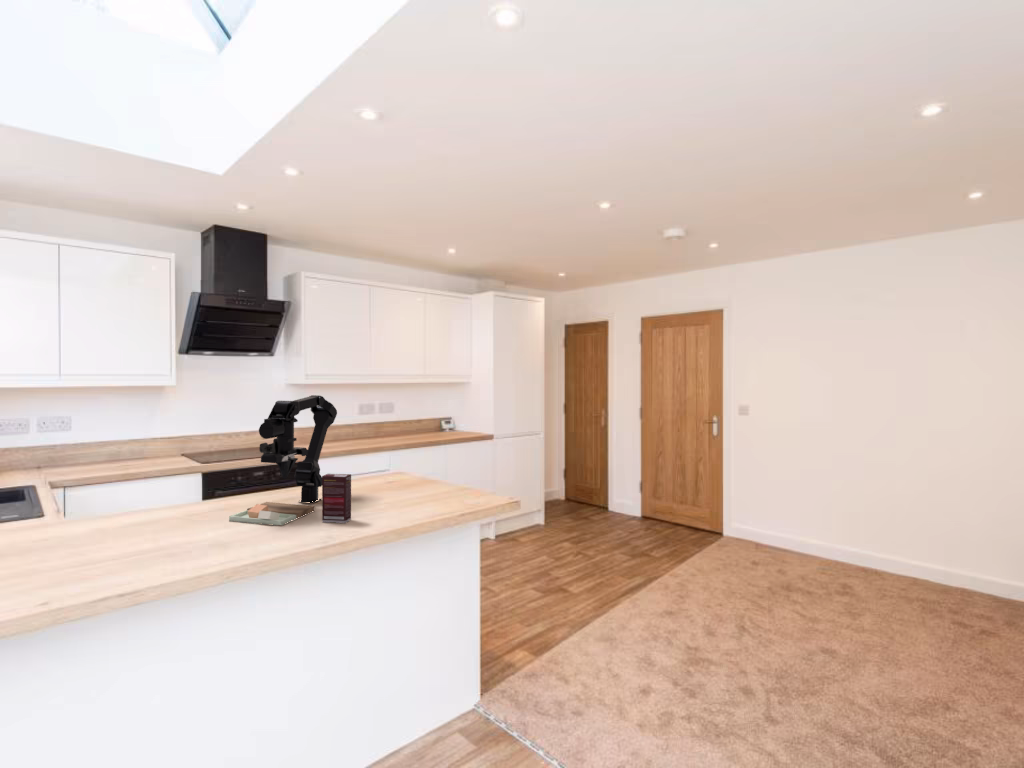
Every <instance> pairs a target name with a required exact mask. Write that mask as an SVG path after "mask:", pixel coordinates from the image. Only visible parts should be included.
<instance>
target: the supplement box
mask: <svg viewBox="0 0 1024 768" xmlns="http://www.w3.org/2000/svg"><path fill="white" fill-rule="evenodd" d="M321 476H322V486H321V491H322V492H321V495H322V497H321V499H322V500H321V501H322V503H321V510H322V511H321V519H322V520H321V521H322V523H330V522H336V523H337V524H347V523H348V522H350V521H351V520H352V474H350V473H347V474H346V473H327V474H324V475H321ZM349 520H350V521H349ZM346 522H347V523H346ZM336 523H335V524H336Z"/></svg>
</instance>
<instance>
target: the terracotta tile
mask: <svg viewBox="0 0 1024 768" xmlns="http://www.w3.org/2000/svg"><path fill="white" fill-rule="evenodd" d="M260 504H261V503H260ZM260 504H259V503H256V504H255V505H254V506H252V508H251V507H250V508H251V509H250V510H248V511H247V512H248V515H249V518H258V515H259V512H260V511H269V509H268V506H267V505H260ZM258 519H259V518H258Z"/></svg>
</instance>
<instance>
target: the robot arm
mask: <svg viewBox="0 0 1024 768" xmlns="http://www.w3.org/2000/svg"><path fill="white" fill-rule="evenodd" d="M308 409H310V412H312V414H313V416H312V419H313V421H314V428H313V432H312V433H311V437H310V440H309V441H310V442H309V445H308V448H306V447H303V446H302V447H300V446H299V447H298V446H297V447H296V446H295V442H296V441H297V437H295V423H297V422H298V419H297V418H296V417H295V416H297V415H299V414H300V412H301V411H304V410H308ZM337 416H338V411H337V409H336V407H335V405H334V404H333V403H331V402H330V401H328V400H327V399H325V397H324V396H322V395H320V394H319V395H314V394H313V395H309V396H306V397H302V398H298V399H295V400H277V401H276V402H275V404H273V407H272V408H271V411H270V412H269V414H268V417H267V418H264V419H263V422H262V423H261V424H260V426H259V428H258V433H259V436H260V437H261V438H262V439H265V440H269V439H273V442H272V443H269V444H268V443H267V442H262V443H260V444H259V452H260V453H262V455H260V463H265V464H267V463H268V464H269V463H270V464H276V465H277V466H278V468H279V471H280V474H281V476H282V479H283V480H284V479H288V477H289V475H290V473H291V471H292V470H293V467H294V466H295V464H296V462H297V461H298V460H299V458H298V457H296V456H297V455H299V456H302V457H305V458H304V459H303V461H298V462H297V464H296V469H295V470H294V472H295V473H294V479H295V483H296V486H297V487H301V492H300V493H301V494H300V496H301V497H300V498H301V499H300V500H301V502H310V503H313V502H315V501H316V500H318V498H319V488H322V476H323V475H321V472H320V471H321V468H320V464H319V460H320V456H321V453H322V449H323V446H324V443H325V439H326V435H327V432H328V428H330V427H331V426H332V425H333V423H334V422H335V420H336V418H337ZM312 501H313V502H312ZM310 503H309V504H310ZM315 503H316V502H315ZM313 504H314V503H313Z"/></svg>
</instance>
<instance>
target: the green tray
mask: <svg viewBox="0 0 1024 768" xmlns="http://www.w3.org/2000/svg"><path fill="white" fill-rule="evenodd" d="M247 511H248V510H247V509H246V510H243V511H239V512H238V513H235V514H232V515H230V516H229V517H228V518H229V519H228V521H229V522H234V521H237V522H236V523H244V522H248V524H254V523H262V524H261V525H264V524H273V525H272V526H275V525H282V526H284V525H283V524H285V523H287V522H289V521H291V520H294V519H296V515H293V514H282V513H280V516H279V519H278V520H269V519H258V518H249V515H248V512H247ZM296 520H297V519H296ZM294 521H295V520H294ZM289 523H290V522H289ZM287 524H288V523H287ZM285 525H286V524H285Z"/></svg>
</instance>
